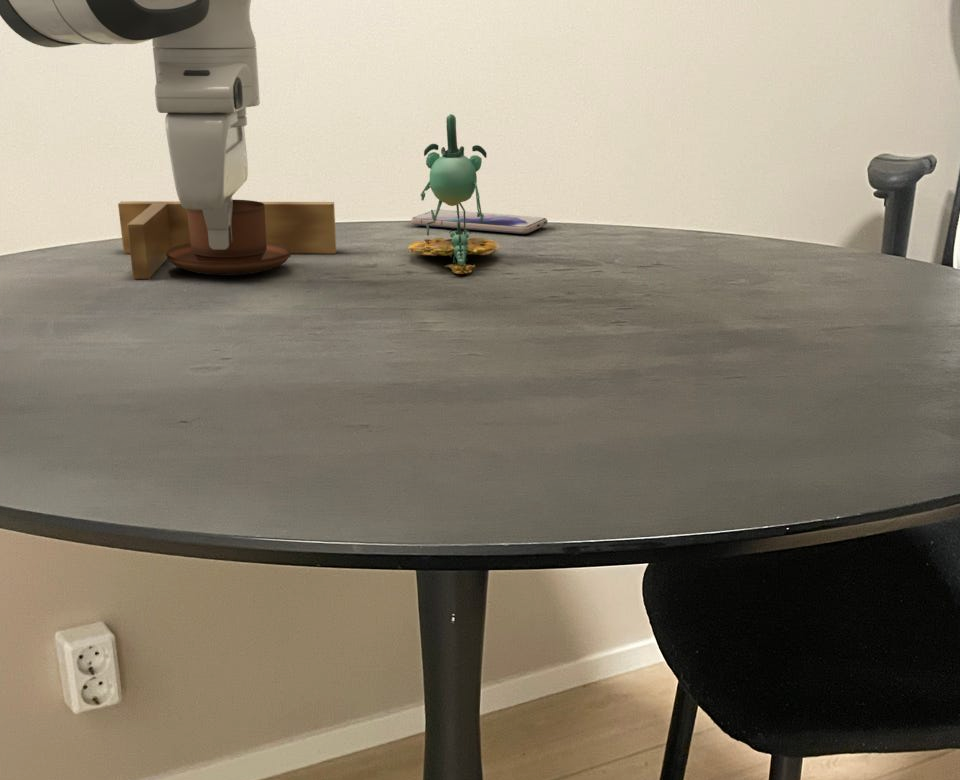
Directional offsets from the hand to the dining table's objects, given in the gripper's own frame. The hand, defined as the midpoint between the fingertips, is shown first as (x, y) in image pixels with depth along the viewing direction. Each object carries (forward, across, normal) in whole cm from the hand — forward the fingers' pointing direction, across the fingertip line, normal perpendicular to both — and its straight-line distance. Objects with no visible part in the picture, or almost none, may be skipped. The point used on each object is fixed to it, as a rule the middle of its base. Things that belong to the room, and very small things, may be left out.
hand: (221, 247), depth 116 cm
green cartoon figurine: (+3, -12, +22) cm, 25 cm away
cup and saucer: (+3, -6, 0) cm, 7 cm away
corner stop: (+3, -9, -1) cm, 10 cm away
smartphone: (+3, -33, +26) cm, 42 cm away
